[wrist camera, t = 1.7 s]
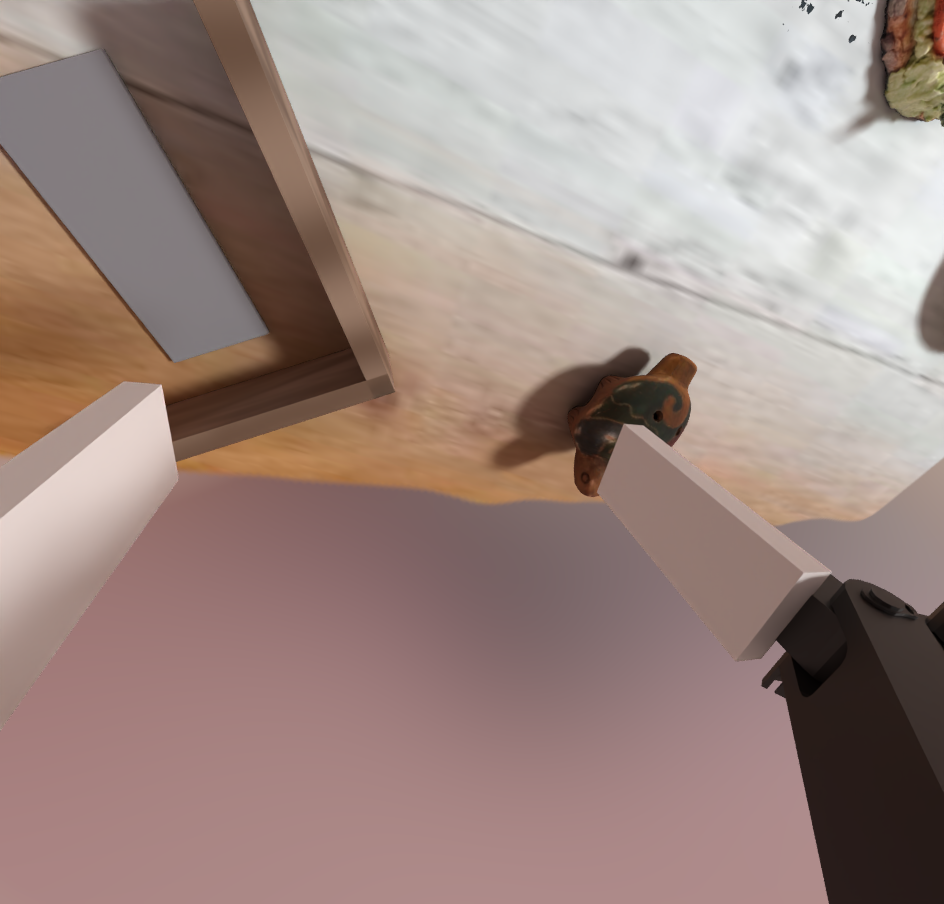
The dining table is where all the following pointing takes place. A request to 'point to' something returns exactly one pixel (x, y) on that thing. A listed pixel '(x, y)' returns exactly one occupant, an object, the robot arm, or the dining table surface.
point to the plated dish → (912, 57)
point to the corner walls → (295, 174)
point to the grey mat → (124, 202)
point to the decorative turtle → (629, 415)
